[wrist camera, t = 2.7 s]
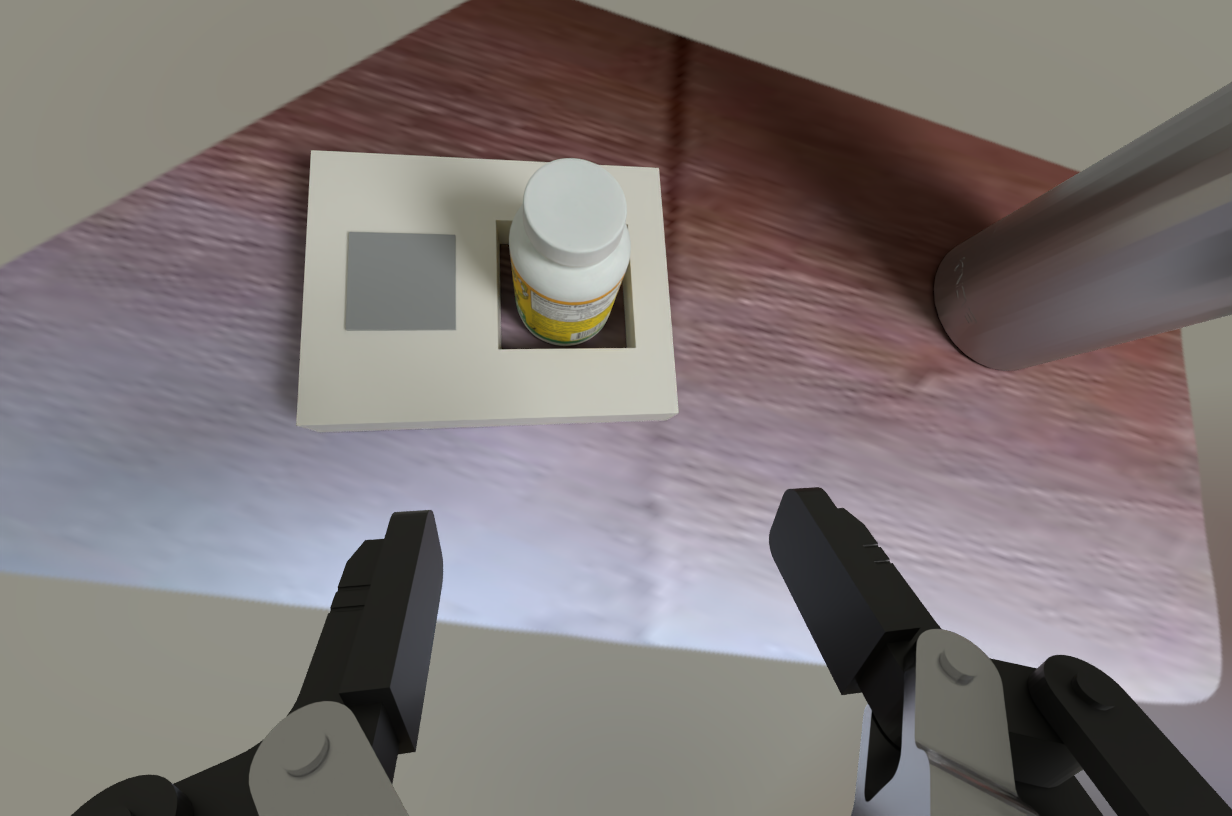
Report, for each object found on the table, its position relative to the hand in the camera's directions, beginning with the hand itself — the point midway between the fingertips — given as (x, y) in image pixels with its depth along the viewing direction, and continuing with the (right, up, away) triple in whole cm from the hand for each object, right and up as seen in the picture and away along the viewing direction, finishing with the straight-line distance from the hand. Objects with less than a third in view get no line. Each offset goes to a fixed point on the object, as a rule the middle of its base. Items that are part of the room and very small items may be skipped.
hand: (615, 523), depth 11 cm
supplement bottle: (-3, +9, +17) cm, 19 cm away
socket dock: (-6, +9, +16) cm, 19 cm away
